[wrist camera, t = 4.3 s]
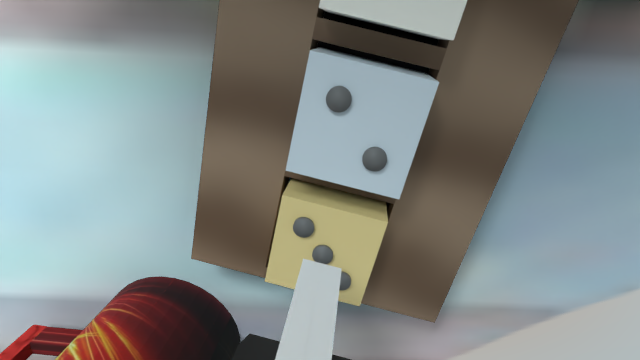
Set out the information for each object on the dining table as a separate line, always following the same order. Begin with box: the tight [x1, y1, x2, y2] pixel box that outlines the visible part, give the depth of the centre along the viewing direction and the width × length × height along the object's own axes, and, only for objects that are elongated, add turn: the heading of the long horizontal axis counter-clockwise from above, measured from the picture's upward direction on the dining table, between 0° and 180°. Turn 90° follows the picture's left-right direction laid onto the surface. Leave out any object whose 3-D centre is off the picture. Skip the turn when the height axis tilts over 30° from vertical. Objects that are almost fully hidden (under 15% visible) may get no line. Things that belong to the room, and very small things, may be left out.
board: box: [191, 0, 579, 323], centre depth 18 cm, size 20×14×2 cm
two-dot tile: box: [286, 47, 439, 199], centre depth 17 cm, size 5×5×4 cm
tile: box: [265, 178, 388, 306], centre depth 20 cm, size 5×5×4 cm
